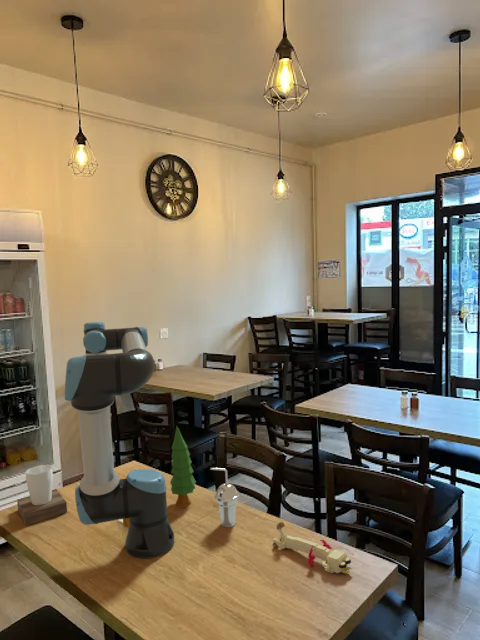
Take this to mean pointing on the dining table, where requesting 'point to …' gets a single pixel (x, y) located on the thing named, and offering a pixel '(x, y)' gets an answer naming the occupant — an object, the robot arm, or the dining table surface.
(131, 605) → the dining table surface
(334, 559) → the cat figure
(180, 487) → the decorative tree
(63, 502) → the riser
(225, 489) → the cup with straw
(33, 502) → the cup
